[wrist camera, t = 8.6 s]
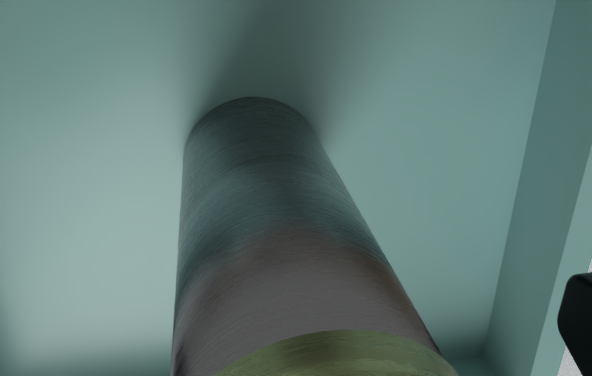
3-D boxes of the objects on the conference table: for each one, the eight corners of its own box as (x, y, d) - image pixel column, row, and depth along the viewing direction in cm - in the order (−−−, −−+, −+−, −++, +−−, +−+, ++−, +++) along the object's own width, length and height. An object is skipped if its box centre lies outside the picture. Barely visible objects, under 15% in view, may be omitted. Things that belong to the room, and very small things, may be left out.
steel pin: (324, 91, 12) (572, 413, 4) (320, 219, 14) (499, 642, 6) (173, 97, 12) (122, 477, 4) (187, 230, 13) (170, 712, 5)
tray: (613, -223, 11) (746, -269, 8) (489, 354, 18) (540, 429, 15) (-256, -267, 9) (-454, -350, 6) (-12, 419, 16) (-54, 521, 13)
